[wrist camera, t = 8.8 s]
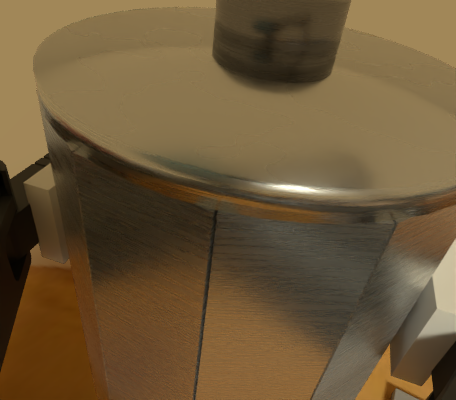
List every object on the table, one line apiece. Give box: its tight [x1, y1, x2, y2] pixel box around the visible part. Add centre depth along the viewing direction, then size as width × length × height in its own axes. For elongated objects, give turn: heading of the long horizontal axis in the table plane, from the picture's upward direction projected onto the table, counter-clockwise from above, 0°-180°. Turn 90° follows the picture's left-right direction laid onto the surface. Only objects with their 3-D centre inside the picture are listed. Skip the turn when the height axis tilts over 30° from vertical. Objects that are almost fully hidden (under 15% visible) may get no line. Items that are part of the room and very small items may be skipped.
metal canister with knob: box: [33, 0, 456, 400], centre depth 12 cm, size 9×9×13 cm
